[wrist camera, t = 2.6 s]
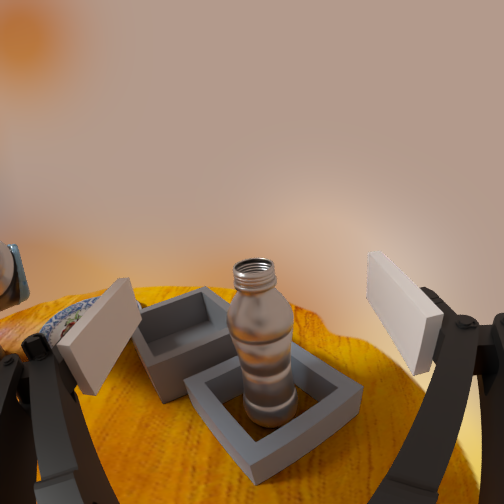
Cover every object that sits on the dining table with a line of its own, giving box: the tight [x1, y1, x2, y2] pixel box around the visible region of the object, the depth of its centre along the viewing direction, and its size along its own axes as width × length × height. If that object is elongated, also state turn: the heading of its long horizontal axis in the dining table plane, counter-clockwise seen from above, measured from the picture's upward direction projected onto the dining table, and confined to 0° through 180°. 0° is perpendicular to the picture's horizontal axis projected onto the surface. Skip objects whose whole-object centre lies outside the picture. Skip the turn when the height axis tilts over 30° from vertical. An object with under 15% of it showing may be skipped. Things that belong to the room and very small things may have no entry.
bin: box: [131, 286, 238, 404], centre depth 44 cm, size 16×16×7 cm
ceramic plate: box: [39, 296, 142, 349], centre depth 54 cm, size 26×26×3 cm
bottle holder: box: [183, 341, 364, 485], centre depth 32 cm, size 15×15×5 cm
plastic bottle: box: [226, 258, 299, 428], centre depth 29 cm, size 6×7×20 cm
